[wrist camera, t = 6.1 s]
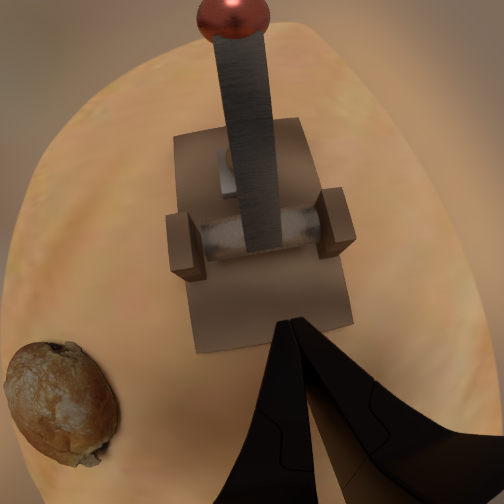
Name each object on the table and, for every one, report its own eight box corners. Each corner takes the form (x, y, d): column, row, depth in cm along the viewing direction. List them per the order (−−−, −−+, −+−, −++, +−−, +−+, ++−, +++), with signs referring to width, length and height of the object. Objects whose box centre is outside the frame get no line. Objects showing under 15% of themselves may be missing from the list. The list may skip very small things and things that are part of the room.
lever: (324, 262, 15) (316, -22, 6) (209, 282, 14) (143, -4, 6) (296, 204, 19) (279, 3, 11) (208, 218, 19) (167, 17, 11)
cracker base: (346, 324, 18) (379, 323, 13) (201, 351, 18) (179, 361, 13) (296, 128, 22) (304, 82, 17) (177, 147, 22) (159, 103, 17)
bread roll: (134, 362, 21) (85, 319, 15) (134, 478, 15) (73, 481, 9) (50, 357, 21) (-3, 318, 15) (43, 455, 15) (-21, 438, 9)
